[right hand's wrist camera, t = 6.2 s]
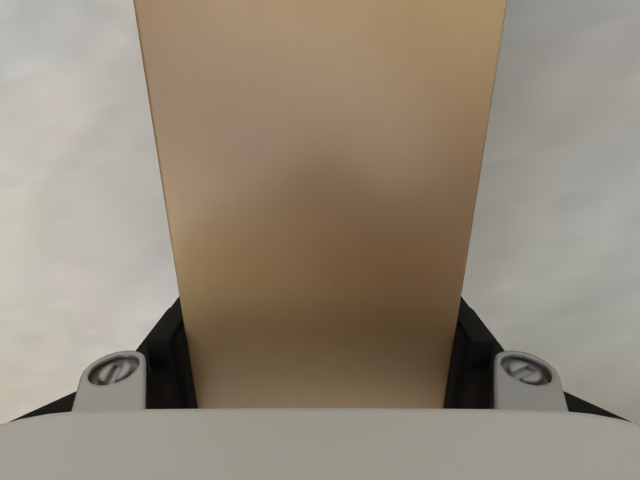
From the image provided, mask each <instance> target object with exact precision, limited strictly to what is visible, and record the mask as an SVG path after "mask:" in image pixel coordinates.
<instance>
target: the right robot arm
mask: <svg viewBox="0 0 640 480" xmlns="http://www.w3.org/2000/svg"><path fill="white" fill-rule="evenodd" d="M0 480H640V425H639V424H636V423H632V422H630V421H628V420H626V419H623V418H621V417H619V416H617V415H615V414H612V413H610V412H608V411H606V410H604V409H601V408H599V407H597V406H595V405H593V404H590V403H588V402H586V401H584V400H582V399H579V398H577V397H575V396H573V395H571V394H568V393H566V392H564V391H563V389H562V385H561V381H560V377H559V375H558V374H557V372H556V370H555V369H554V368H553V367H552V366H551V365H549V364H548V363H547V362H545V361H544V360H542V359H540V358H538V357H536V356H534V355H531V354H528V353H525V352H520V351H504V349H503V348H502V347H501V345H500V344H499V343H498V342H497V340H496V339H495V338H494V336H493V335H492V334H491V332H490V331H489V330H488V329H487V327H486V326H485V325H484V323H483V322H482V321H481V320H480V318H479V317H478V316H477V314H476V313H475V312H474V310H473V309H471V308H470V307H469V306H468V305H467V303H466V302H465V301H464V300H463V298H462V297H461V299H460V305H459V312H458V318H457V325H456V331H455V337H454V344H453V350H452V357H451V363H450V369H449V376H448V382H447V389H446V395H445V401H444V408H443V409H417V408H218V409H197V403H196V396H195V390H194V384H193V377H192V371H191V364H190V358H189V352H188V345H187V339H186V333H185V327H184V321H183V315H182V308H181V302H180V296H179V297H178V299H177V300H176V301H175V303H174V304H173V305H172V307H171V308H169V309H168V310H167V311H166V312H165V314H164V315H163V316H162V318H161V319H160V320H159V321H158V323H157V324H156V325H155V327H154V328H153V329H152V330H151V332H150V333H149V334H148V336H147V337H146V338H145V340H144V341H143V342H142V343H141V345H140V346H139V347H138V349H137V350H136V351H120V352H115V353H112V354H109V355H106V356H104V357H102V358H100V359H98V360H96V361H95V362H93V363H92V364H91V365H89V366H88V367H87V368H86V369H85V370H84V372H83V374H82V375H81V377H80V381H79V385H78V389H77V391H76V392H74V393H72V394H70V395H67V396H65V397H63V398H61V399H59V400H56V401H54V402H52V403H50V404H48V405H45V406H43V407H41V408H39V409H37V410H34V411H32V412H30V413H28V414H26V415H23V416H21V417H19V418H17V419H15V420H12V421H10V422H8V423H4V424H1V425H0Z"/></svg>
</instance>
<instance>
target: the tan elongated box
mask: <svg viewBox="0 0 640 480" xmlns="http://www.w3.org/2000/svg"><path fill="white" fill-rule="evenodd" d="M133 1H134V8H135V14H136V21H137V27H138V33H139V40H140V46H141V52H142V59H143V65H144V72H145V78H146V84H147V91H148V97H149V104H150V110H151V116H152V123H153V129H154V136H155V142H156V148H157V155H158V161H159V168H160V174H161V180H162V187H163V193H164V200H165V206H166V212H167V219H168V225H169V232H170V238H171V244H172V251H173V257H174V263H175V270H176V276H177V283H178V289H179V295H180V302H181V308H182V315H183V321H184V327H185V333H186V339H187V345H188V352H189V358H190V364H191V371H192V377H193V384H194V390H195V396H196V403H197V409H218V408H417V409H443V408H444V401H445V395H446V389H447V382H448V376H449V369H450V363H451V357H452V350H453V344H454V337H455V331H456V325H457V318H458V312H459V305H460V299H461V292H462V286H463V280H464V273H465V267H466V260H467V254H468V248H469V241H470V235H471V228H472V222H473V216H474V209H475V203H476V196H477V190H478V184H479V177H480V171H481V164H482V158H483V151H484V145H485V139H486V132H487V126H488V119H489V113H490V107H491V100H492V94H493V87H494V81H495V75H496V68H497V62H498V55H499V49H500V42H501V36H502V30H503V23H504V17H505V10H506V4H507V0H133Z"/></svg>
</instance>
